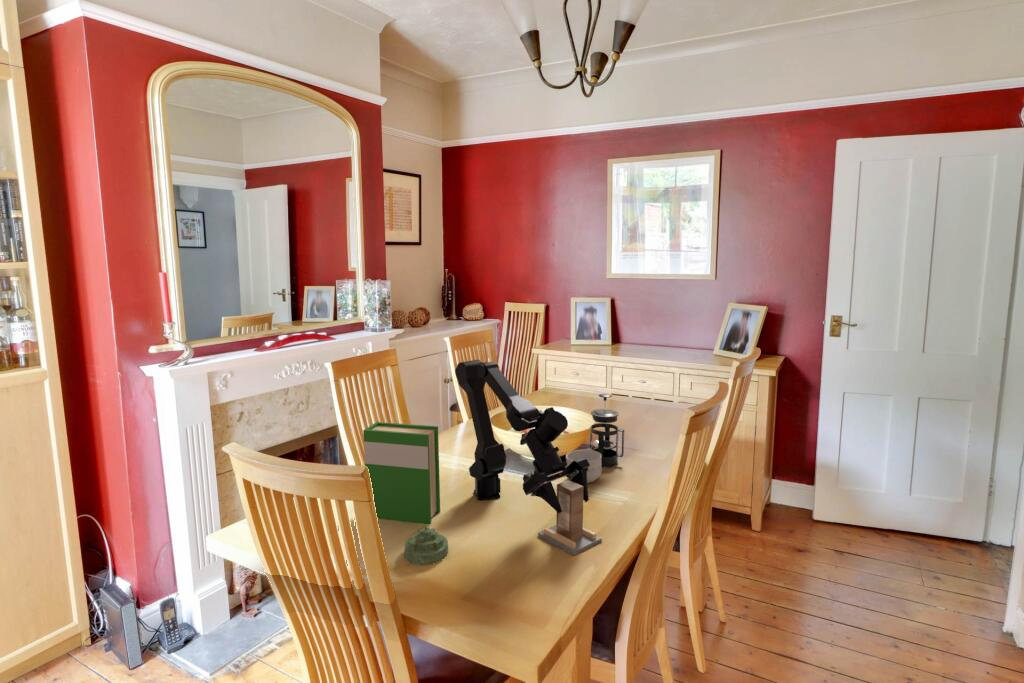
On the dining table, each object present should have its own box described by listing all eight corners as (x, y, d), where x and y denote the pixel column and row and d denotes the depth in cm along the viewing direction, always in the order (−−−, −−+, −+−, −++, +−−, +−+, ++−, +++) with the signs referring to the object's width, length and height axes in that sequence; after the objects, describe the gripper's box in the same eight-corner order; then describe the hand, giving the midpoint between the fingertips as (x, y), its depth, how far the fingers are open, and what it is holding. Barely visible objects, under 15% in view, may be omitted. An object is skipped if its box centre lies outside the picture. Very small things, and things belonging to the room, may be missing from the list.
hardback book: (440, 512, 158) (438, 426, 154) (430, 524, 150) (427, 435, 146) (380, 505, 162) (376, 421, 158) (367, 517, 155) (363, 430, 151)
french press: (583, 465, 190) (585, 396, 186) (591, 455, 199) (592, 389, 195) (619, 470, 186) (621, 400, 182) (625, 460, 194) (627, 392, 191)
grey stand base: (537, 535, 144) (537, 528, 144) (566, 523, 151) (566, 516, 150) (573, 555, 135) (573, 547, 135) (601, 541, 142) (602, 533, 141)
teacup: (592, 489, 171) (592, 463, 170) (559, 481, 177) (559, 456, 176) (610, 473, 183) (611, 449, 182) (579, 467, 189) (579, 443, 187)
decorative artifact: (452, 544, 141) (411, 542, 142) (451, 517, 140) (410, 515, 141) (442, 567, 131) (399, 564, 132) (442, 537, 130) (398, 535, 131)
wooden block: (556, 534, 144) (556, 484, 141) (567, 529, 146) (568, 479, 144) (570, 542, 140) (571, 490, 138) (582, 536, 142) (583, 486, 140)
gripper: (553, 457, 158) (582, 509, 152) (500, 474, 146) (529, 532, 140) (575, 436, 151) (607, 490, 145) (520, 453, 139) (552, 513, 133)
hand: (574, 506), depth 141 cm, fingers open, 9 cm apart
